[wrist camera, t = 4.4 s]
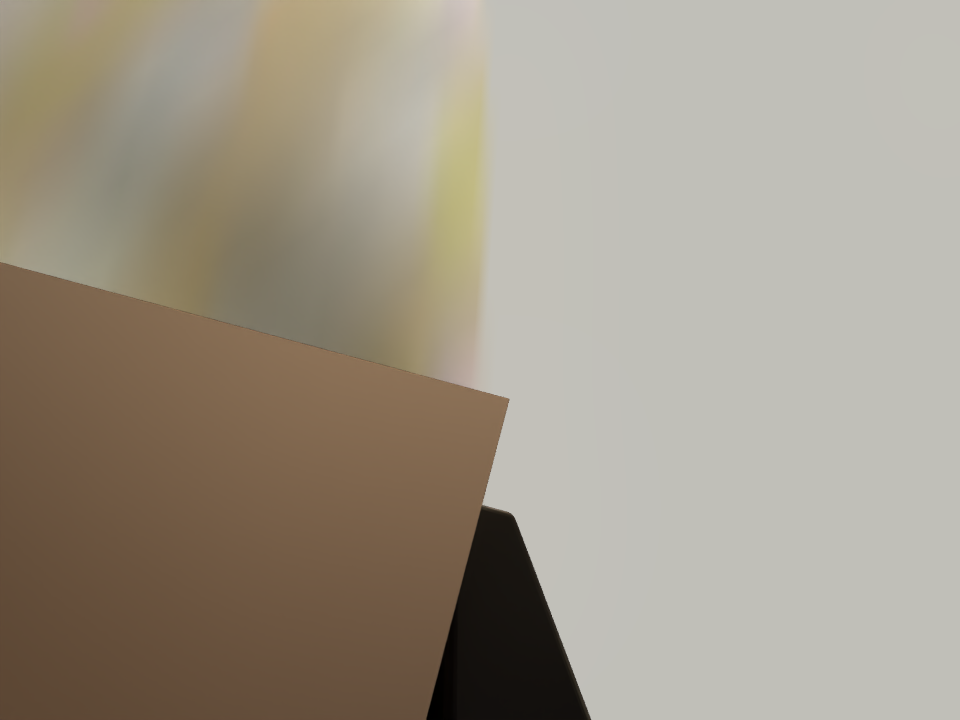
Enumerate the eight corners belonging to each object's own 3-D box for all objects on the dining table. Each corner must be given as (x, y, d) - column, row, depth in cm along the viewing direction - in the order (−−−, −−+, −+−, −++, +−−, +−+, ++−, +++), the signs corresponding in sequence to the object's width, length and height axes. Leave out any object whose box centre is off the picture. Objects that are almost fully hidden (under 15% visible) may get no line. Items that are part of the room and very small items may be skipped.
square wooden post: (399, 755, 13) (241, 1434, 3) (187, 697, 13) (-783, 1128, 3) (457, 537, 14) (508, 399, 4) (259, 484, 14) (-267, 190, 4)
